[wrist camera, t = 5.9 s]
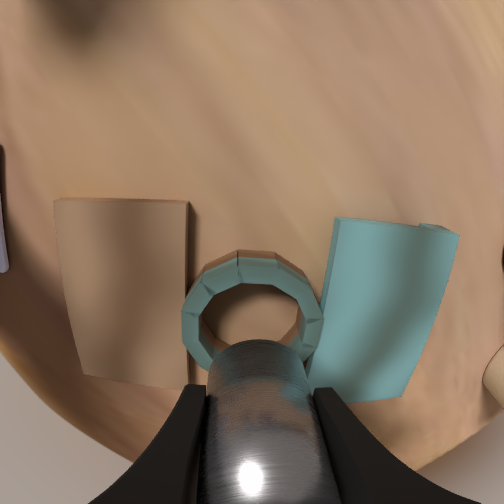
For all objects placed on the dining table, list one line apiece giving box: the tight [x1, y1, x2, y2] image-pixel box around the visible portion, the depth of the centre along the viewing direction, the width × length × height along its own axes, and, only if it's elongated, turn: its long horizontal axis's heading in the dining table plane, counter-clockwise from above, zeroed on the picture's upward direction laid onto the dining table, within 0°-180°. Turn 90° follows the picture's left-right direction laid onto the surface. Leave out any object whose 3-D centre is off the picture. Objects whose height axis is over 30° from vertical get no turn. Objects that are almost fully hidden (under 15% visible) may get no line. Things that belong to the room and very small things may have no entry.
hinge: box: [53, 198, 460, 404], centre depth 15 cm, size 21×11×2 cm, turn 85°
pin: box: [196, 339, 341, 504], centre depth 8 cm, size 4×4×6 cm
